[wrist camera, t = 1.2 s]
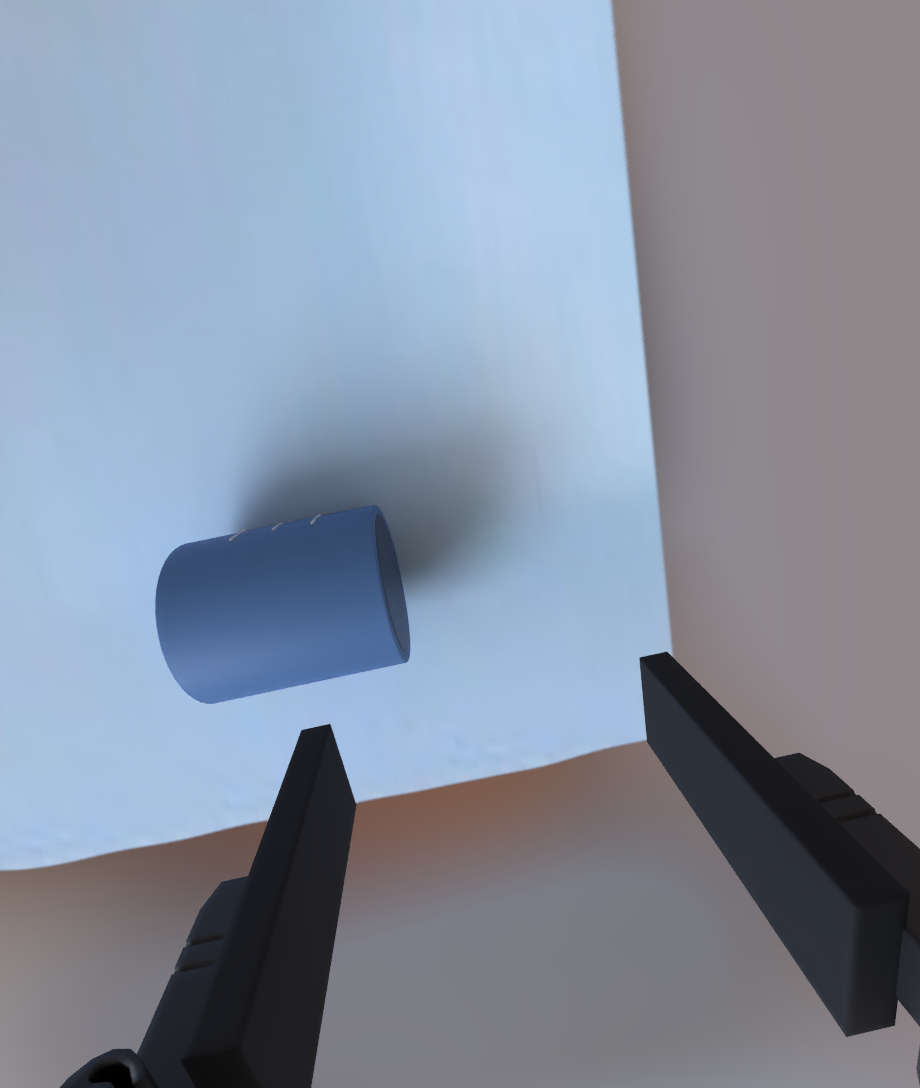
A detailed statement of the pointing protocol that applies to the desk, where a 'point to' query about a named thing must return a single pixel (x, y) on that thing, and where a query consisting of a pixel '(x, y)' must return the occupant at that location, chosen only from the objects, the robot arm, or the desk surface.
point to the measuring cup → (282, 606)
